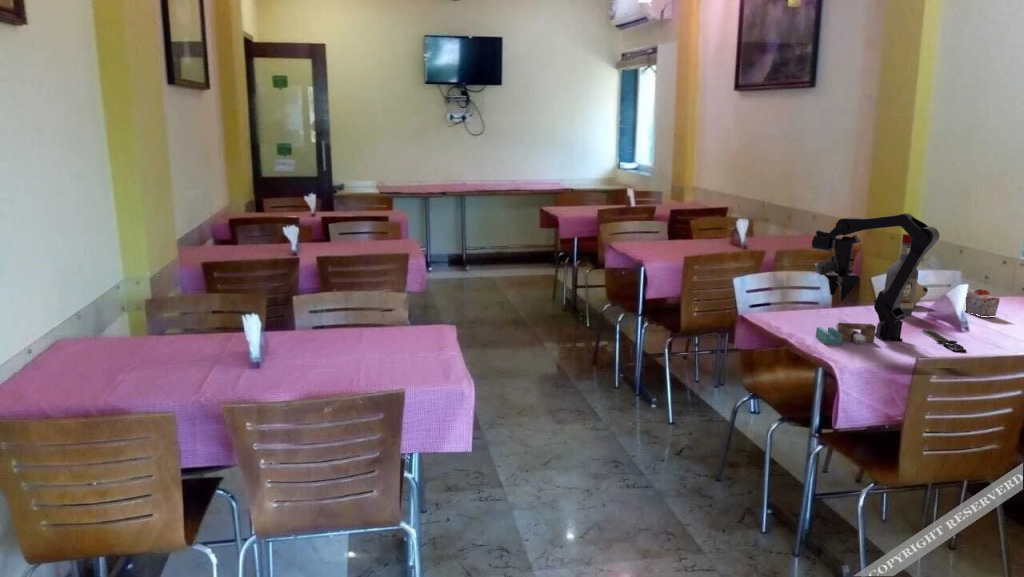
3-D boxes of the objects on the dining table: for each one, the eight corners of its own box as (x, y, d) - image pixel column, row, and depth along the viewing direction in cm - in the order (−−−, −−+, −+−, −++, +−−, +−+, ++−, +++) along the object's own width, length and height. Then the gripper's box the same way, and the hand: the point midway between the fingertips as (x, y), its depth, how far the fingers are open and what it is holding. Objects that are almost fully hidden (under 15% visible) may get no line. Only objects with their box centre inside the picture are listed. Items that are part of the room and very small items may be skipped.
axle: (844, 331, 265) (846, 322, 264) (864, 345, 249) (867, 336, 249) (834, 330, 265) (837, 321, 264) (855, 344, 249) (857, 334, 248)
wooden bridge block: (869, 339, 255) (871, 323, 253) (873, 342, 252) (875, 326, 250) (836, 338, 254) (838, 322, 253) (840, 341, 252) (842, 325, 250)
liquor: (878, 309, 295) (889, 232, 289) (901, 309, 296) (913, 233, 289) (891, 315, 287) (903, 236, 280) (914, 316, 287) (927, 237, 280)
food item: (1000, 319, 288) (1004, 293, 286) (981, 319, 287) (985, 293, 284) (973, 309, 301) (977, 285, 299) (954, 309, 300) (959, 285, 297)
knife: (918, 331, 269) (919, 327, 269) (938, 332, 268) (938, 328, 268) (946, 352, 245) (947, 348, 244) (968, 354, 244) (969, 350, 243)
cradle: (831, 337, 255) (832, 327, 255) (841, 344, 248) (842, 334, 247) (815, 337, 255) (816, 326, 255) (825, 344, 248) (826, 333, 247)
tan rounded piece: (929, 307, 301) (934, 281, 299) (903, 308, 298) (907, 282, 296) (911, 301, 310) (915, 275, 308) (886, 302, 308) (890, 276, 305)
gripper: (809, 248, 273) (803, 290, 277) (830, 258, 255) (824, 303, 259) (840, 249, 273) (834, 291, 277) (864, 259, 255) (857, 305, 259)
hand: (836, 297), depth 268 cm, fingers open, 8 cm apart
